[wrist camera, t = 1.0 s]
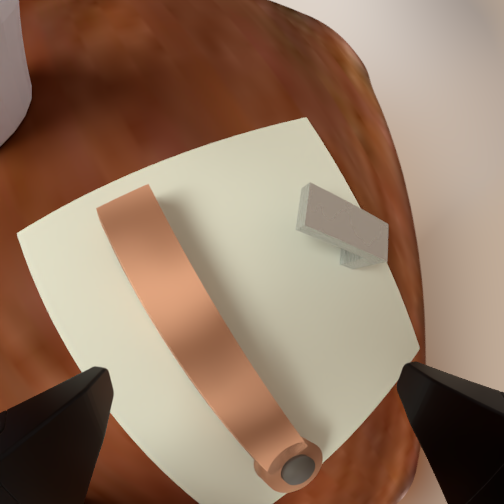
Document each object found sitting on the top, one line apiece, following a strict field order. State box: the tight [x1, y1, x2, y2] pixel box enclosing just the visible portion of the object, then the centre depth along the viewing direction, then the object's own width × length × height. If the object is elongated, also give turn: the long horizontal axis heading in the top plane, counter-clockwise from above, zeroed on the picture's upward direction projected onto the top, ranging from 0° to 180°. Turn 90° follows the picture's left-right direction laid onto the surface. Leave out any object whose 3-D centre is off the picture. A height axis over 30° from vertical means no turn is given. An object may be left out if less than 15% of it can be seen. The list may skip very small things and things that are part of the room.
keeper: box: [295, 182, 388, 269], centre depth 20 cm, size 3×8×5 cm, turn 80°
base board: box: [17, 118, 420, 504], centre depth 19 cm, size 25×26×1 cm
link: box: [96, 184, 323, 493], centre depth 15 cm, size 22×4×2 cm, turn 35°
